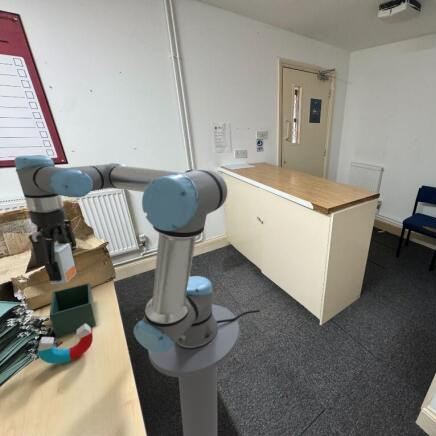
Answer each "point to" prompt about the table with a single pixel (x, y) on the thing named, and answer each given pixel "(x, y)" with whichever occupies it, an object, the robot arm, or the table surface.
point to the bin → (72, 309)
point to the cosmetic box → (64, 263)
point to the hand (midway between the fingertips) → (63, 274)
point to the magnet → (64, 355)
